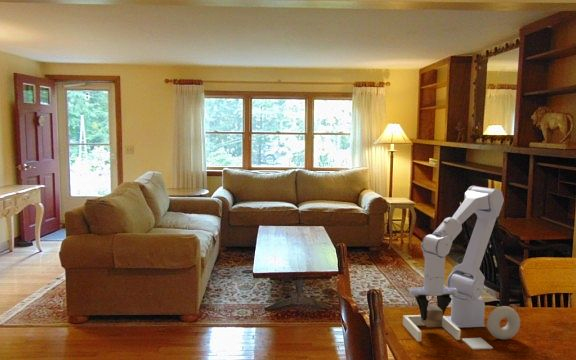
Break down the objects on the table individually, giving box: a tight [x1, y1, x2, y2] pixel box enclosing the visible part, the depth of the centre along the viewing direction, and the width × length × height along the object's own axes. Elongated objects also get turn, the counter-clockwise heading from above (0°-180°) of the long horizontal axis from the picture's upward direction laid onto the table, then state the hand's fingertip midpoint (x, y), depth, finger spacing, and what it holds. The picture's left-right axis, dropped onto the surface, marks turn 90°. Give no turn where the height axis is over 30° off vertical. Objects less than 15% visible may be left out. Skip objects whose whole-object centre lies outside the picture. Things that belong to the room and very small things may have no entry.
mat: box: [461, 337, 494, 350], centre depth 129 cm, size 6×6×1 cm
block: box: [421, 304, 443, 328], centre depth 136 cm, size 4×4×5 cm
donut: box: [486, 305, 521, 341], centre depth 132 cm, size 10×3×10 cm, turn 98°
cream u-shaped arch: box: [402, 314, 462, 343], centre depth 136 cm, size 13×12×3 cm
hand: (431, 318), depth 136 cm, fingers closed on block, 4 cm apart
